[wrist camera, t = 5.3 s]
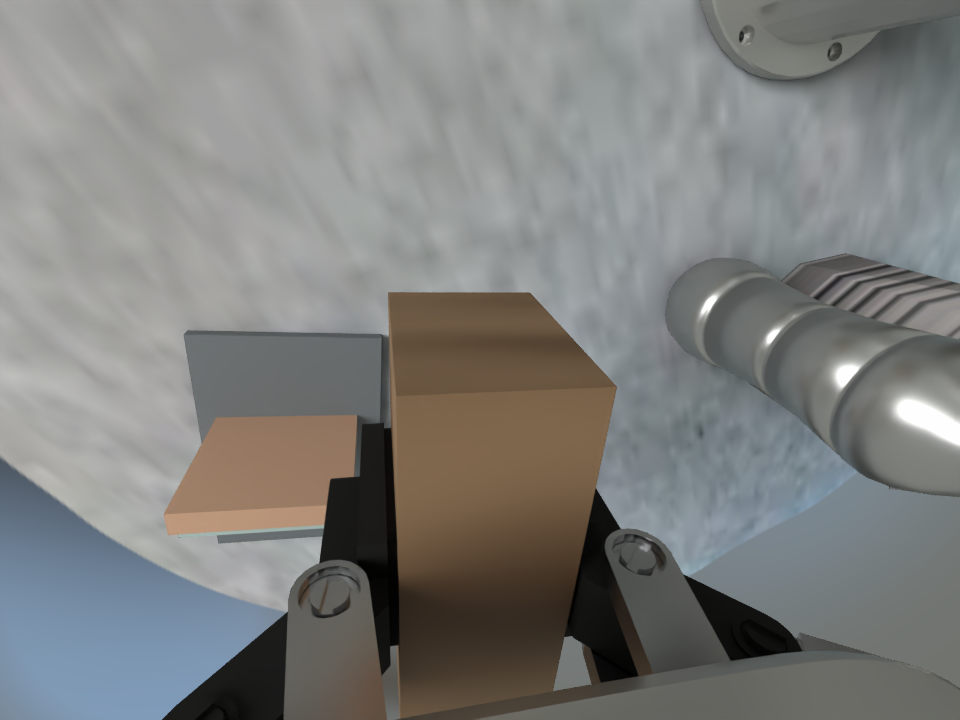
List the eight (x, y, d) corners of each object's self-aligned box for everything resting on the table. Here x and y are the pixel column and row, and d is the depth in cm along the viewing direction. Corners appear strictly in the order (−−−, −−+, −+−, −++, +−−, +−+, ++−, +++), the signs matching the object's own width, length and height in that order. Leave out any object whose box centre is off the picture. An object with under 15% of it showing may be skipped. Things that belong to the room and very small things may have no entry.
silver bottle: (690, 232, 30) (1157, 383, 12) (762, 276, 32) (1238, 456, 14) (633, 321, 32) (961, 566, 14) (705, 357, 34) (1062, 603, 16)
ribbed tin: (908, 261, 34) (1150, 322, 24) (835, 400, 39) (1010, 503, 28) (777, 242, 31) (984, 300, 21) (715, 394, 36) (859, 506, 25)
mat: (381, 334, 29) (381, 338, 28) (377, 526, 35) (378, 532, 34) (187, 330, 26) (183, 334, 26) (220, 536, 32) (218, 543, 32)
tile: (357, 414, 30) (352, 503, 23) (357, 436, 31) (352, 529, 23) (216, 417, 28) (163, 514, 21) (219, 440, 29) (169, 541, 22)
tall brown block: (320, 292, 10) (285, 400, 6) (586, 292, 11) (700, 382, 7) (356, 727, 17) (351, 912, 13) (520, 699, 18) (560, 860, 14)
